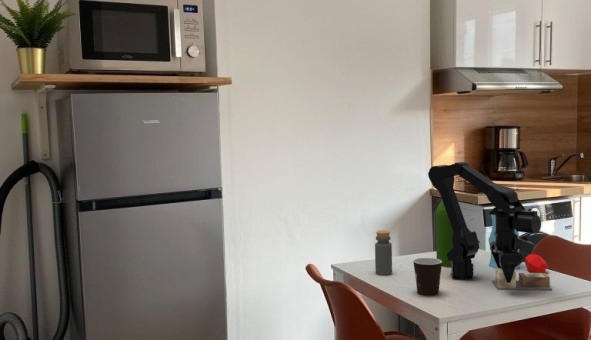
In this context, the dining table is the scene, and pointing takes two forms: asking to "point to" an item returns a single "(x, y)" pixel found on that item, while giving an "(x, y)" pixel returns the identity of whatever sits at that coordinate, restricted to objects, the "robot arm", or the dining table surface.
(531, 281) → the brown block
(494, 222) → the vase
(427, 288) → the coffee mug
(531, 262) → the apple
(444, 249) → the wine bottle
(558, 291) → the dining table surface
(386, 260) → the bottle
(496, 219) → the robot arm
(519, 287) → the mat
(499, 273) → the birch cube
